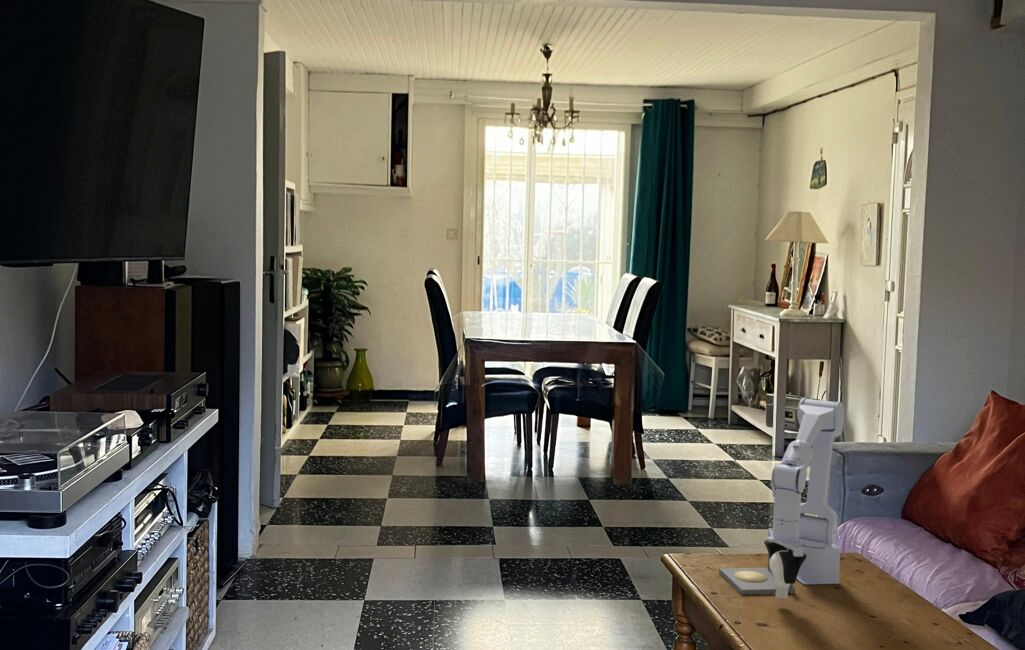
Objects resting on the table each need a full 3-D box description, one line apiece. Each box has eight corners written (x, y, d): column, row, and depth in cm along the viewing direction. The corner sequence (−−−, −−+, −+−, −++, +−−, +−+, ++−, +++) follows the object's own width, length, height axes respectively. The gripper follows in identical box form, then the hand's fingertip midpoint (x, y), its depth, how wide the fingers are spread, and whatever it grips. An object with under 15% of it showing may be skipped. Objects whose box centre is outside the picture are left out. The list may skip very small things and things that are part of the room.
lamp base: (770, 572, 243) (771, 547, 242) (795, 593, 228) (797, 567, 227) (719, 573, 241) (720, 548, 240) (741, 594, 226) (742, 568, 225)
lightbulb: (797, 605, 215) (801, 556, 215) (767, 601, 217) (771, 552, 216) (794, 597, 221) (798, 549, 221) (765, 593, 223) (769, 545, 222)
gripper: (756, 509, 224) (753, 567, 226) (782, 528, 210) (779, 589, 211) (786, 509, 225) (783, 566, 227) (814, 527, 211) (810, 589, 212)
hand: (783, 577), depth 219 cm, fingers closed on lightbulb, 6 cm apart
